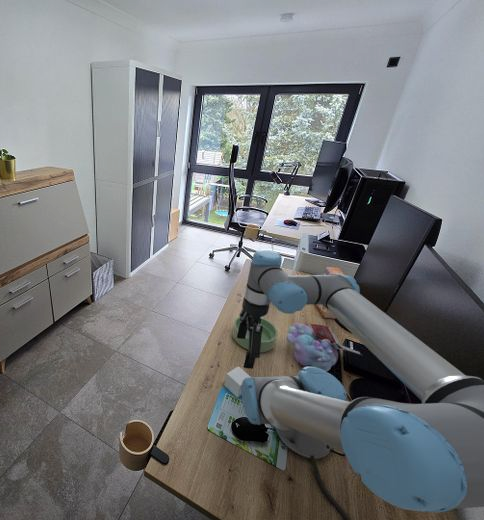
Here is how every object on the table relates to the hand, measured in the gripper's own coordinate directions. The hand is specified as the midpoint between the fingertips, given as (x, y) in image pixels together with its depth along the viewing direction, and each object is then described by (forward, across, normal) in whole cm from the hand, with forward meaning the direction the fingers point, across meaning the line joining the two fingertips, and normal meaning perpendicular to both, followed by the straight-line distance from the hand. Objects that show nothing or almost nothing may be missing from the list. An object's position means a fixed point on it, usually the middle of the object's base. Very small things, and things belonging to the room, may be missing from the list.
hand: (244, 351), depth 96 cm
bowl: (+15, +26, -11) cm, 32 cm away
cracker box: (+16, +53, -50) cm, 75 cm away
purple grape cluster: (+16, +19, -33) cm, 41 cm away
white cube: (+16, -2, 0) cm, 16 cm away
